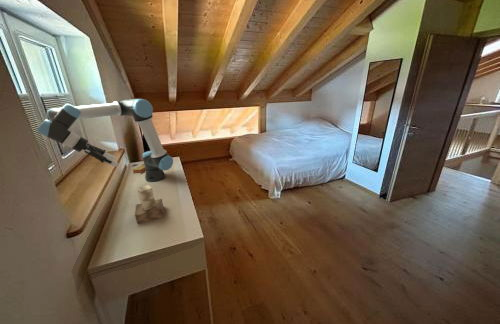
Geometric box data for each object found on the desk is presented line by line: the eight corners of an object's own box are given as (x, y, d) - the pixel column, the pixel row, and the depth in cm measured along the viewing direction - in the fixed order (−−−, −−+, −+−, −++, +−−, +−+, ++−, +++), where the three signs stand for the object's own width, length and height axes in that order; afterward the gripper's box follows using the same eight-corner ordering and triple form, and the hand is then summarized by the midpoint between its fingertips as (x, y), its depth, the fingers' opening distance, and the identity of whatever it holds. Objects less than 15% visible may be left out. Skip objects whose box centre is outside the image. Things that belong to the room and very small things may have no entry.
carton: (133, 173, 186) (132, 169, 184) (145, 167, 200) (144, 162, 199) (141, 174, 184) (140, 169, 183) (153, 167, 199) (152, 163, 197)
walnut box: (163, 207, 132) (162, 198, 130) (164, 217, 122) (162, 208, 120) (138, 213, 127) (136, 204, 125) (137, 224, 117) (134, 215, 114)
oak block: (152, 202, 126) (148, 184, 122) (155, 206, 122) (151, 187, 118) (141, 206, 123) (137, 188, 118) (145, 210, 118) (140, 191, 114)
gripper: (72, 143, 121) (110, 161, 134) (69, 153, 102) (113, 173, 115) (81, 133, 122) (117, 152, 135) (79, 141, 103) (122, 162, 116)
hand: (116, 162), depth 125 cm, fingers open, 13 cm apart
